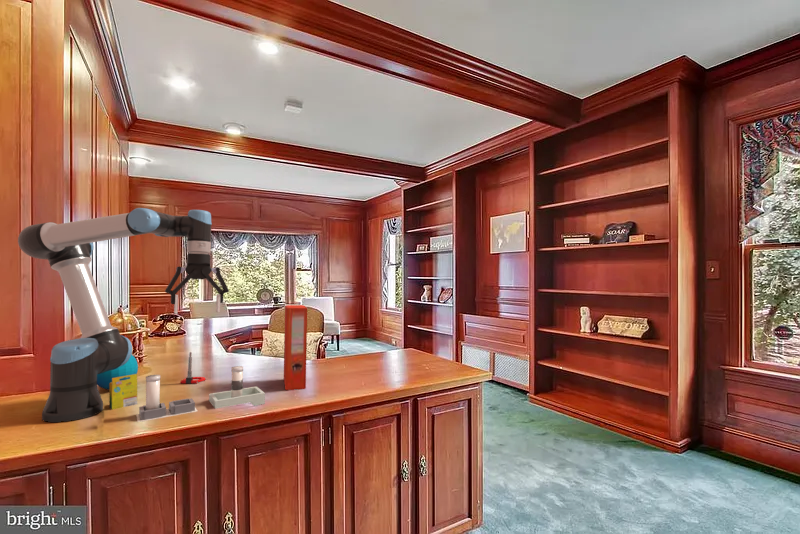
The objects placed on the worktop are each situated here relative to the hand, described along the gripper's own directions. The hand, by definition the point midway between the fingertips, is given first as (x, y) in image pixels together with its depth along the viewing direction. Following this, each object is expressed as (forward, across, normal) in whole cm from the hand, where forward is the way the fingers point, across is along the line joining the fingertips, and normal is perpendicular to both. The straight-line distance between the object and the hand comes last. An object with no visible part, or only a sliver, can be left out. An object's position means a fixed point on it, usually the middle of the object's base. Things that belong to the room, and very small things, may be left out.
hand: (197, 312), depth 141 cm
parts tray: (+31, +11, -12) cm, 35 cm away
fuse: (+30, -14, -13) cm, 35 cm away
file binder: (+31, +37, +1) cm, 49 cm away
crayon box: (+32, -21, +3) cm, 38 cm away
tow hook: (+32, +4, +30) cm, 44 cm away
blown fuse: (+30, +11, -12) cm, 35 cm away
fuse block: (+31, -10, -13) cm, 35 cm away
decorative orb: (+32, -23, +35) cm, 53 cm away
